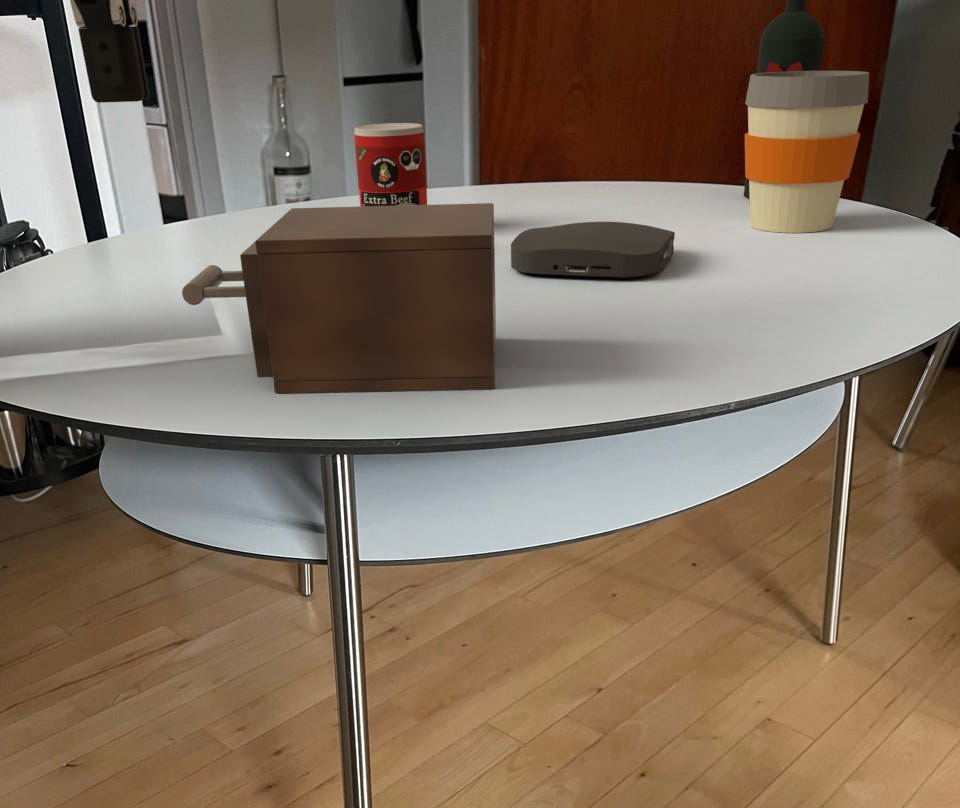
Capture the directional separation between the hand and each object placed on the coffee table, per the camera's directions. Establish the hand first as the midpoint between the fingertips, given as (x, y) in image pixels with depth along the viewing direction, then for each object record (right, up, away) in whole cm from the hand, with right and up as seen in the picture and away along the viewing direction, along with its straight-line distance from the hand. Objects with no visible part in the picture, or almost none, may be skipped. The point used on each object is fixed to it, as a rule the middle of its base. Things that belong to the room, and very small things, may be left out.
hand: (122, 100), depth 65 cm
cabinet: (+16, -14, +8) cm, 23 cm away
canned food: (+13, +13, +54) cm, 57 cm away
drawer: (+12, -14, +8) cm, 20 cm away
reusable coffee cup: (+58, +12, +51) cm, 78 cm away
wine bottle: (+61, +23, +68) cm, 94 cm away
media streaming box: (+34, +3, +36) cm, 49 cm away
